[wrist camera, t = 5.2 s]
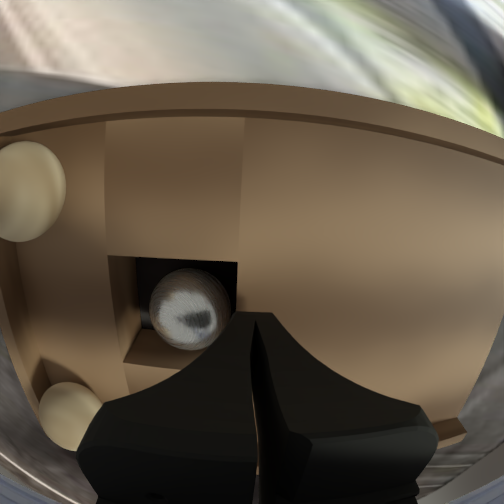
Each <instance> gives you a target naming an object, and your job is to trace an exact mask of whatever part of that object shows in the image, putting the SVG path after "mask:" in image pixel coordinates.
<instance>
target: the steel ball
mask: <svg viewBox="0 0 504 504" xmlns="http://www.w3.org/2000/svg"><path fill="white" fill-rule="evenodd" d="M149 313H150V319H151V322H152V324H153V327H154V329H155V330H156V332H157V333H158V334H159V336H160V337H161V338H162V339H163V340H164V341H166V342H167V343H168V344H170V345H172V346H174V347H176V348H179V349H184V350H198V349H203V348H205V347H208V346H210V345H211V344H212V342H213V341H214V340H215V339H216V338H217V337H218V336H219V334H220V333H221V332H222V330H223V329H224V328H225V326H226V325H227V324H228V322H229V320H230V317H231V303H230V299H229V295H228V293H227V291H226V289H225V288H224V286H223V285H222V283H221V282H220V281H219V280H218V279H217V278H216V277H214V276H213V275H211V274H210V273H208V272H205V271H203V270H200V269H194V268H185V269H179V270H176V271H173V272H171V273H169V274H168V275H166V276H165V277H164V278H163V279H161V280H160V281H159V283H158V284H157V285H156V287H155V289H154V290H153V293H152V295H151V299H150V304H149Z"/></svg>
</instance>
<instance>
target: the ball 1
mask: <svg viewBox="0 0 504 504" xmlns="http://www.w3.org/2000/svg"><path fill="white" fill-rule="evenodd" d="M65 196H66V179H65V174H64V170H63V168H62V165H61V163H60V161H59V160H58V158H57V157H56V156H55V154H54V153H53V152H52V151H51V150H49V149H48V148H47V147H45V146H43V145H41V144H39V143H36V142H31V141H21V142H15V143H12V144H9V145H7V146H6V147H4V148H2V149H1V150H0V237H1V238H3V239H6V240H9V241H13V242H25V241H29V240H32V239H35V238H37V237H39V236H41V235H42V234H44V233H45V232H46V231H47V230H48V229H49V228H50V227H51V226H52V225H53V224H54V223H55V221H56V220H57V218H58V217H59V215H60V213H61V210H62V208H63V205H64V201H65Z"/></svg>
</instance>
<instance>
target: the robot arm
mask: <svg viewBox="0 0 504 504" xmlns="http://www.w3.org/2000/svg"><path fill="white" fill-rule="evenodd" d="M252 396H253V398H252ZM253 404H254V408H253ZM254 411H255V417H254ZM255 419H256V425H255ZM256 427H257V431H256ZM257 434H258V450H257ZM438 441H439V437H438V434H437V432H436V430H435V428H434V427H433V425H432V423H431V422H430V420H429V418H428V417H427V415H426V414H425V412H424V410H423V409H422V408H421V406H420V405H417V404H413V403H409V402H406V401H402V400H398V399H395V398H391V397H388V396H385V395H382V394H380V393H377V392H375V391H372V390H370V389H367V388H365V387H363V386H361V385H359V384H356V383H354V382H353V381H351V380H349V379H347V378H345V377H343V376H342V375H340V374H338V373H336V372H335V371H333V370H332V369H330V368H329V367H327V366H326V365H325V364H323V363H322V362H320V361H319V360H318V359H316V358H315V357H314V356H313V355H311V354H310V353H309V352H308V351H307V350H306V349H305V348H303V347H302V346H301V345H300V344H299V343H298V342H297V341H296V340H295V339H294V338H293V336H292V335H291V334H290V333H289V332H288V331H287V330H286V329H285V327H284V326H283V325H282V324H281V322H280V321H279V320H278V319H277V317H276V316H275V315H274V314H273V313H272V312H246V311H236V312H235V313H233V315H232V317H231V319H230V320H229V322H228V324H227V325H226V326H225V328H224V329H223V330H222V332H221V333H220V334H219V336H218V337H217V338H216V339H215V340H214V341H213V342H212V344H211V345H210V346H209V347H208V348H207V349H206V350H205V351H204V352H203V353H202V354H201V355H200V356H198V357H197V358H196V359H195V360H194V361H192V362H191V363H190V364H189V365H187V366H186V367H185V368H183V369H182V370H180V371H179V372H177V373H175V374H174V375H172V376H171V377H169V378H167V379H165V380H163V381H161V382H159V383H157V384H155V385H153V386H151V387H149V388H146V389H144V390H142V391H139V392H136V393H134V394H130V395H127V396H124V397H121V398H118V399H114V400H111V401H107V402H104V403H103V405H102V406H101V408H100V409H99V410H98V412H97V413H96V415H95V416H94V418H93V419H92V421H91V423H90V424H89V426H88V428H87V430H86V432H85V434H84V436H83V438H82V440H81V442H80V444H79V446H78V448H77V451H76V459H77V462H78V464H79V466H80V468H81V470H82V472H83V473H84V475H85V477H86V478H87V480H88V481H89V483H90V484H91V486H92V487H93V489H94V490H95V492H96V493H97V495H98V499H97V502H96V504H252V500H253V493H254V485H255V478H256V470H257V463H258V454H259V504H418V503H417V500H416V498H415V496H417V495H418V494H419V487H418V485H417V483H416V479H417V477H418V476H419V475H420V473H421V472H422V471H423V469H424V468H425V467H426V465H427V464H428V463H429V461H430V460H431V458H432V457H433V455H434V453H435V451H436V449H437V447H438ZM0 504H62V503H59V502H57V501H55V500H52V499H50V498H48V497H45V496H43V495H41V494H39V493H37V492H34V491H32V490H30V489H28V488H26V487H24V486H22V485H20V484H18V483H16V482H15V481H13V480H11V479H9V478H7V477H6V476H4V475H2V474H0ZM446 504H504V475H503V476H501V477H500V478H498V479H496V480H494V481H492V482H491V483H488V484H487V485H485V486H483V487H481V488H479V489H477V490H475V491H473V492H470V493H468V494H466V495H464V496H462V497H459V498H457V499H455V500H453V501H450V502H448V503H446Z"/></svg>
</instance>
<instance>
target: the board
mask: <svg viewBox="0 0 504 504" xmlns="http://www.w3.org/2000/svg"><path fill="white" fill-rule="evenodd" d="M21 141H31V142H36V143H39V144H41V145H43V146H45V147H47V148H48V149H49V150H51V151H52V152H53V153H54V154H55V156H56V157H57V158H58V160H59V161H60V163H61V165H62V168H63V170H64V174H65V179H66V196H65V201H64V205H63V208H62V210H61V213H60V215H59V217H58V218H57V220H56V221H55V223H54V224H53V225H52V226H51V227H50V228H49V229H48V230H47V231H46V232H45V233H44V234H42V235H41V236H39V237H37V238H35V239H32V240H29V241H25V242H13V241H9V240H6V239H3V238H1V237H0V327H1V331H2V334H3V337H4V340H5V343H6V346H7V349H8V352H9V355H10V357H11V360H12V363H13V365H14V368H15V370H16V373H17V375H18V378H19V380H20V383H21V385H22V387H23V390H24V392H25V394H26V396H27V398H28V401H29V403H30V405H31V407H32V409H33V411H34V413H35V415H36V417H37V419H38V421H39V423H40V425H41V422H40V419H39V404H40V400H41V398H42V396H43V394H44V393H45V392H46V391H47V390H48V389H49V388H50V387H51V386H53V385H55V384H58V383H62V382H73V383H77V384H80V385H82V386H84V387H86V388H88V389H89V390H91V391H92V392H93V393H94V394H95V395H96V396H97V397H98V398H99V400H100V401H101V403H102V405H103V403H104V402H107V401H111V400H114V399H118V398H121V397H124V396H127V395H130V394H134V393H136V392H139V391H142V390H144V389H146V388H149V387H151V386H153V385H155V384H157V383H159V382H161V381H163V380H165V379H167V378H169V377H171V376H172V375H174V374H175V373H177V372H179V371H180V370H182V369H183V368H185V367H186V366H187V365H189V364H190V363H191V362H192V361H194V360H195V359H196V358H197V357H198V356H200V355H201V354H202V353H203V352H204V351H205V350H206V349H207V348H208V347H209V346H208V347H205V348H203V349H198V350H184V349H179V348H176V347H174V346H172V345H170V344H168V343H167V342H166V341H164V340H163V339H162V338H161V337H160V336H159V334H158V333H157V332H156V330H150V329H142V325H141V316H140V307H139V297H138V286H137V273H136V258H135V257H153V258H171V259H191V260H211V261H232V262H238V273H237V299H236V311H246V312H272V313H273V314H274V315H275V316H276V317H277V319H278V320H279V321H280V322H281V324H282V325H283V326H284V327H285V329H286V330H287V331H288V332H289V333H290V334H291V335H292V336H293V338H294V339H295V340H296V341H297V342H298V343H299V344H300V345H301V346H302V347H303V348H305V349H306V350H307V351H308V352H309V353H310V354H311V355H313V356H314V357H315V358H316V359H318V360H319V361H320V362H322V363H323V364H325V365H326V366H327V367H329V368H330V369H332V370H333V371H335V372H336V373H338V374H340V375H342V376H343V377H345V378H347V379H349V380H351V381H353V382H354V383H356V384H359V385H361V386H363V387H365V388H367V389H370V390H372V391H375V392H377V393H380V394H382V395H385V396H388V397H391V398H395V399H398V400H402V401H406V402H409V403H413V404H417V405H420V406H421V408H422V409H423V410H424V412H425V414H426V415H427V417H428V418H429V420H430V422H431V423H432V425H433V427H434V428H435V430H436V432H437V434H438V437H439V441H438V447H437V449H439V448H442V447H445V446H448V445H451V444H454V443H457V442H460V441H462V440H463V438H464V437H465V435H466V434H467V431H466V430H465V429H464V427H463V426H462V424H461V423H460V421H459V420H458V418H457V416H458V414H459V413H460V411H461V409H462V407H463V406H464V404H465V402H466V400H467V398H468V396H469V394H470V392H471V390H472V388H473V386H474V384H475V382H476V380H477V378H478V376H479V374H480V372H481V370H482V368H483V365H484V363H485V361H486V358H487V356H488V354H489V351H490V349H491V347H492V344H493V342H494V339H495V336H496V334H497V331H498V328H499V326H500V323H501V320H502V317H503V314H504V139H503V138H501V137H498V136H496V135H493V134H491V133H488V132H486V131H483V130H481V129H478V128H475V127H472V126H470V125H467V124H464V123H461V122H458V121H455V120H452V119H449V118H446V117H443V116H440V115H436V114H433V113H430V112H426V111H423V110H419V109H415V108H412V107H408V106H404V105H400V104H396V103H391V102H387V101H383V100H378V99H373V98H368V97H363V96H358V95H352V94H347V93H341V92H334V91H328V90H321V89H313V88H305V87H296V86H286V85H274V84H260V83H238V82H186V83H165V84H150V85H139V86H129V87H120V88H112V89H105V90H98V91H92V92H85V93H80V94H74V95H69V96H64V97H59V98H54V99H50V100H46V101H41V102H37V103H33V104H29V105H26V106H22V107H18V108H15V109H11V110H8V111H5V112H1V113H0V150H1V149H2V148H4V147H6V146H7V145H9V144H12V143H15V142H21ZM252 398H253V396H252ZM253 408H254V404H253ZM254 417H255V411H254ZM255 425H256V419H255ZM41 427H42V425H41ZM42 429H43V427H42ZM43 430H44V429H43ZM256 431H257V427H256ZM44 432H45V431H44ZM45 434H46V433H45ZM46 436H47V437H48V435H47V434H46ZM257 450H258V434H257ZM256 475H259V454H258V463H257V470H256Z"/></svg>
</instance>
